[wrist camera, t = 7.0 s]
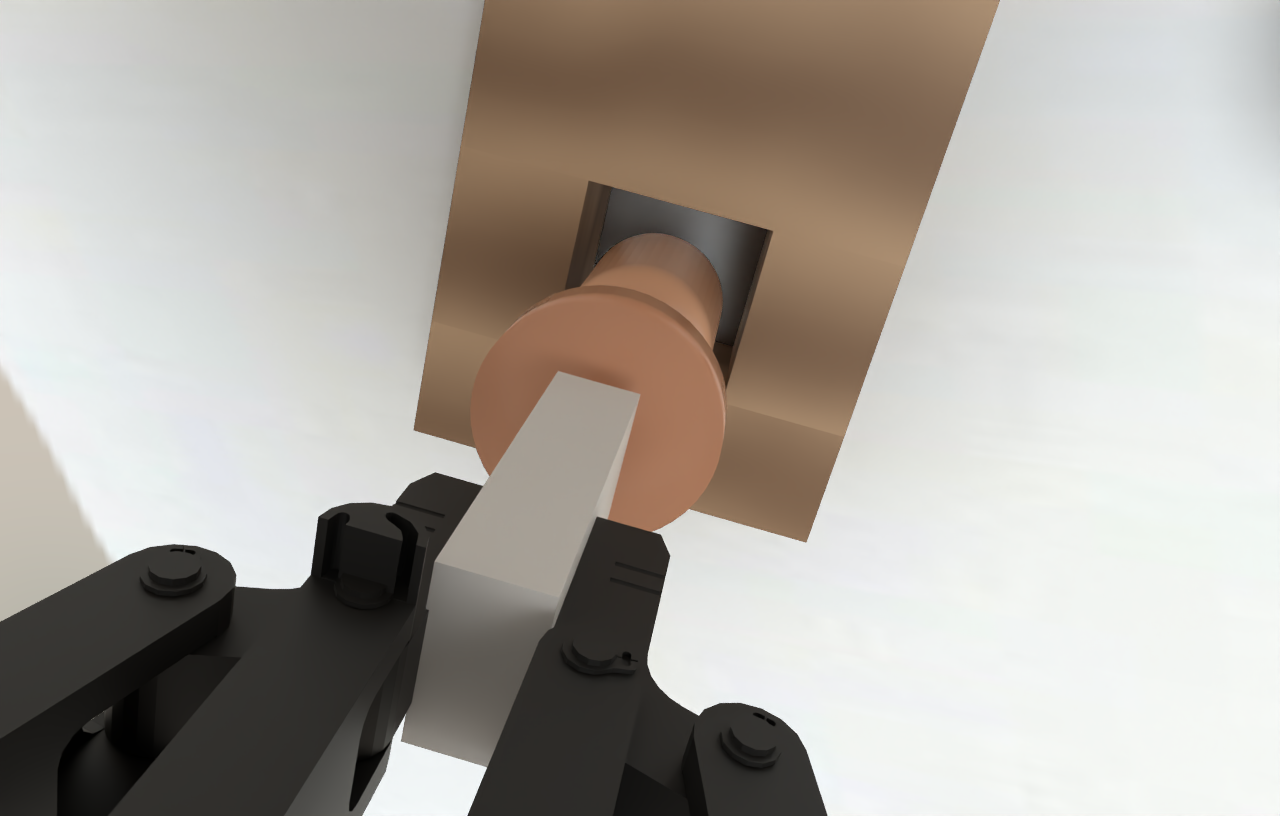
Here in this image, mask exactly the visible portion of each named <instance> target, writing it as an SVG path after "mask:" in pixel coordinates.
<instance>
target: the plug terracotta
mask: <svg viewBox="0 0 1280 816" xmlns="http://www.w3.org/2000/svg"><path fill="white" fill-rule="evenodd" d="M722 308H723V293H722V288H721V283H720V280H719V277H718V275H717V273H716V271H715V269H714V267H713V266H712V264H711V263H710V261H709V260H708V259H707V257H706V256H705V255H704V254H703V253H702V252H701V251H700V250H698V249H697V248H696V247H695V246H693V245H692V244H690V243H689V242H687V241H685V240H683V239H681V238H678V237H675V236H672V235H667V234H662V233H645V234H640V235H635V236H632V237H629V238H627V239H625V240H623V241H621V242H619V243H618V244H616V245H615V246H613V247H612V248H611V249H610V250H609V251H607V252H606V253H605V255H604V256H603V257H602V258H601V259H600V261H599V262H598V263H597V265H596V266H595V267H594V269H593V270H592V271H591V272H590V274H589V275H588V276H587V278H586V279H585V280H584V282H583V283H582V284H581V286H580V287H577V288H571V289H567V290H564V291H561V292H558V293H555V294H553V295H551V296H549V297H547V298H545V299H543V300H540V301H539V302H537V303H536V304H534V305H533V306H532V307H530V308H529V309H527V310H526V311H525V312H524V313H523V314H522V315H521V316H519V317H518V318H517V319H516V320H515V321H514V323H513V324H512V325H511V326H510V327H509V328H508V329H507V331H506V332H505V333H504V334H503V335H502V336H501V337H500V338H499V340H498V341H497V342H496V343H495V344H494V346H493V347H492V348H491V349H490V351H489V352H488V354H487V356H486V357H485V359H484V361H483V362H482V364H481V366H480V369H479V371H478V373H477V376H476V379H475V383H474V386H473V390H472V396H471V405H470V418H471V428H472V434H473V439H474V442H475V446H476V449H477V452H478V455H479V457H480V459H481V461H482V464H483V466H484V468H485V469H486V471H487V473H488V474H489V476H490V475H491V474H492V472H493V471H494V469H495V467H496V466H497V464H498V463H499V461H500V460H501V458H502V457H503V455H504V454H505V452H506V450H507V449H508V447H509V446H510V444H511V443H512V441H513V440H514V438H515V437H516V435H517V434H518V432H519V430H520V429H521V427H522V426H523V424H524V423H525V421H526V420H527V418H528V417H529V415H530V413H531V412H532V410H533V409H534V407H535V406H536V404H537V403H538V401H539V400H540V398H541V397H542V395H543V393H544V392H545V390H546V389H547V387H548V386H549V384H550V383H551V381H552V380H553V378H554V376H555V375H556V373H557V372H558V371H560V372H563V373H567V374H570V375H574V376H578V377H581V378H585V379H588V380H592V381H595V382H599V383H602V384H606V385H610V386H613V387H617V388H620V389H624V390H627V391H631V392H634V393H638V394H640V398H639V402H638V406H637V409H636V413H635V417H634V421H633V425H632V428H631V432H630V436H629V440H628V444H627V448H626V451H625V455H624V459H623V463H622V467H621V470H620V474H619V478H618V482H617V486H616V489H615V493H614V497H613V501H612V505H611V509H610V512H609V516H608V520H611V521H615V522H618V523H622V524H625V525H629V526H632V527H636V528H639V529H643V530H646V531H650V532H652V531H655V530H657V529H660V528H662V527H663V526H665V525H667V524H669V523H671V522H672V521H674V520H675V519H677V518H678V517H679V516H681V515H682V514H683V513H685V512H686V511H687V510H688V509H689V508H690V507H691V506H692V505H693V504H694V503H695V502H696V501H697V500H698V499H699V497H700V496H701V495H702V493H703V492H704V491H705V489H706V488H707V486H708V484H709V482H710V481H711V479H712V477H713V475H714V472H715V470H716V467H717V465H718V462H719V458H720V453H721V449H722V444H723V438H724V432H725V426H726V419H727V392H726V387H725V382H724V377H723V374H722V371H721V369H720V366H719V363H718V361H717V359H716V357H715V355H714V353H713V347H714V343H715V339H716V335H717V331H718V327H719V323H720V319H721V314H722Z"/></svg>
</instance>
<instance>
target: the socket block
mask: <svg viewBox="0 0 1280 816" xmlns="http://www.w3.org/2000/svg"><path fill="white" fill-rule="evenodd" d="M999 1H1000V0H485V3H484V9H483V15H482V21H481V27H480V33H479V39H478V45H477V51H476V57H475V63H474V69H473V75H472V81H471V87H470V93H469V99H468V105H467V111H466V117H465V123H464V129H463V135H462V141H461V147H460V154H459V160H458V166H457V172H456V178H455V184H454V190H453V196H452V202H451V208H450V214H449V220H448V226H447V232H446V238H445V244H444V250H443V256H442V262H441V268H440V274H439V280H438V286H437V292H436V298H435V304H434V310H433V316H432V322H431V328H430V334H429V340H428V346H427V352H426V358H425V364H424V370H423V376H422V382H421V388H420V394H419V400H418V406H417V413H416V419H415V425H414V430H415V431H418V432H422V433H425V434H429V435H432V436H436V437H439V438H443V439H446V440H450V441H453V442H457V443H460V444H464V445H467V446H471V447H474V448H476V446H475V442H474V439H473V434H472V428H471V418H470V405H471V396H472V390H473V386H474V383H475V379H476V376H477V373H478V371H479V369H480V366H481V364H482V362H483V361H484V359H485V357H486V356H487V354H488V352H489V351H490V349H491V348H492V347H493V346H494V344H495V343H496V342H497V341H498V340H499V338H500V337H501V336H502V335H503V334H504V333H505V332H506V331H507V329H508V328H509V327H510V326H511V325H512V324H513V323H514V321H515V320H516V319H517V318H518V317H519V316H521V315H522V314H523V313H524V312H525V311H526V310H527V309H529V308H530V307H532V306H533V305H534V304H536V303H537V302H539V301H540V300H543V299H545V298H547V297H549V296H551V295H553V294H555V293H558V292H561V291H564V290H567V289H571V288H577V287H580V286H581V284H582V283H583V282H584V280H585V279H586V278H587V276H588V275H589V274H590V272H591V271H592V270H593V268H594V263H595V259H596V255H597V250H598V246H599V242H600V237H601V233H602V229H603V224H604V220H605V215H606V211H607V207H608V202H609V198H610V194H611V189H612V187H614V188H618V189H622V190H625V191H629V192H633V193H636V194H640V195H644V196H647V197H651V198H655V199H658V200H662V201H666V202H669V203H673V204H676V205H680V206H684V207H687V208H691V209H695V210H698V211H702V212H706V213H709V214H713V215H717V216H720V217H724V218H728V219H731V220H735V221H739V222H742V223H746V224H750V225H753V226H757V227H761V228H764V229H768V230H767V233H766V237H765V240H764V243H763V247H762V250H761V253H760V257H759V260H758V264H757V267H756V270H755V274H754V277H753V280H752V284H751V287H750V291H749V294H748V297H747V301H746V304H745V308H744V311H743V314H742V318H741V321H740V324H739V328H738V331H737V335H736V338H735V341H734V345H733V346H729V345H726V344H722V343H719V342H715V343H714V347H713V353H714V355H715V357H716V359H717V361H718V363H719V366H720V369H721V371H722V374H723V377H724V382H725V387H726V392H727V419H726V426H725V432H724V438H723V444H722V449H721V453H720V458H719V462H718V465H717V467H716V470H715V472H714V475H713V477H712V479H711V481H710V482H709V484H708V486H707V488H706V489H705V491H704V492H703V493H702V495H701V496H700V497H699V499H698V500H697V501H696V502H695V503H694V504H693V505H692V506H691V507H690V508H689V509H691V510H694V511H698V512H701V513H705V514H708V515H712V516H715V517H719V518H722V519H726V520H729V521H733V522H736V523H740V524H743V525H747V526H750V527H754V528H757V529H761V530H764V531H768V532H771V533H775V534H778V535H782V536H785V537H789V538H792V539H796V540H799V541H803V542H807V539H808V536H809V534H810V531H811V528H812V525H813V522H814V520H815V517H816V514H817V511H818V508H819V506H820V503H821V500H822V497H823V494H824V492H825V489H826V486H827V483H828V480H829V478H830V475H831V472H832V469H833V466H834V464H835V461H836V458H837V455H838V452H839V450H840V447H841V444H842V441H843V438H844V436H845V433H846V430H847V427H848V424H849V422H850V419H851V416H852V413H853V410H854V408H855V405H856V402H857V399H858V396H859V394H860V391H861V388H862V385H863V382H864V380H865V377H866V374H867V371H868V368H869V366H870V363H871V360H872V357H873V354H874V352H875V349H876V346H877V343H878V340H879V338H880V335H881V332H882V329H883V326H884V324H885V321H886V318H887V315H888V312H889V310H890V307H891V304H892V301H893V298H894V296H895V293H896V290H897V287H898V284H899V282H900V279H901V276H902V273H903V270H904V268H905V265H906V262H907V259H908V256H909V254H910V251H911V248H912V245H913V242H914V240H915V237H916V234H917V231H918V228H919V226H920V223H921V220H922V217H923V214H924V212H925V209H926V206H927V203H928V200H929V198H930V195H931V192H932V189H933V186H934V184H935V181H936V178H937V175H938V172H939V170H940V167H941V164H942V161H943V158H944V156H945V153H946V150H947V147H948V144H949V142H950V139H951V136H952V133H953V130H954V128H955V125H956V122H957V119H958V116H959V114H960V111H961V108H962V105H963V102H964V100H965V97H966V94H967V91H968V88H969V86H970V83H971V80H972V77H973V74H974V72H975V69H976V66H977V63H978V60H979V58H980V55H981V52H982V49H983V46H984V44H985V41H986V38H987V35H988V32H989V29H990V27H991V24H992V21H993V18H994V15H995V13H996V10H997V7H998V4H999Z"/></svg>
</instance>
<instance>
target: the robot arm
mask: <svg viewBox="0 0 1280 816" xmlns="http://www.w3.org/2000/svg"><path fill="white" fill-rule="evenodd" d="M639 398H640V394H638V393H634V392H631V391H627V390H624V389H620V388H617V387H613V386H610V385H606V384H602V383H599V382H595V381H592V380H588V379H585V378H581V377H578V376H574V375H570V374H567V373H563V372H560V371H558V372H557V373H556V375H555V376H554V378H553V380H552V381H551V383H550V384H549V386H548V387H547V389H546V390H545V392H544V393H543V395H542V397H541V398H540V400H539V401H538V403H537V404H536V406H535V407H534V409H533V410H532V412H531V413H530V415H529V417H528V418H527V420H526V421H525V423H524V424H523V426H522V427H521V429H520V430H519V432H518V434H517V435H516V437H515V438H514V440H513V441H512V443H511V444H510V446H509V447H508V449H507V450H506V452H505V454H504V455H503V457H502V458H501V460H500V461H499V463H498V464H497V466H496V467H495V469H494V471H493V472H492V474H491V475H490V477H489V478H488V480H487V481H486V483H485V484H484V486H481V485H477V484H474V483H470V482H467V481H463V480H460V479H456V478H453V477H449V476H446V475H442V474H439V473H436V472H435V473H433V474H431V475H428V476H426V477H424V478H422V479H420V480H417V481H415V482H413V483H411V484H410V485H409V486H408V487H407V488H406V489H405V491H404V492H403V493H402V494H401V496H400V497H399V498H398V499H397V501H396V504H393V506H387V505H382V504H376V503H349V504H345V505H341V506H338V507H334V508H331V509H329V510H328V511H326V512H325V513H323V514H322V515H320V516H319V517H318V524H317V532H316V539H315V547H314V555H313V563H312V570H311V576H310V577H309V578H308V579H307V580H306V581H305V583H304V584H303V585H302V586H301V587H300V588H294V589H263V588H249V587H236V586H235V583H236V573H235V571H234V569H233V567H232V565H231V563H230V562H229V561H228V560H226V559H225V558H223V557H222V556H221V555H219V554H218V553H216V552H213V551H210V550H207V549H204V548H201V547H198V546H188V545H176V544H172V545H164V546H156V547H149V548H146V549H144V550H141V551H138V552H135V553H132V554H130V555H128V556H126V557H124V558H122V559H120V560H118V561H116V562H114V563H112V564H110V565H109V566H107V567H105V568H103V569H101V570H99V571H97V572H95V573H93V574H91V575H89V576H87V577H86V578H84V579H82V580H80V581H78V582H76V583H74V584H72V585H70V586H68V587H66V588H64V589H62V590H61V591H59V592H57V593H55V594H53V595H51V596H49V597H47V598H45V599H43V600H41V601H40V602H37V603H36V604H34V605H32V606H30V607H28V608H26V609H24V610H22V611H20V612H18V613H17V614H14V615H13V616H11V617H9V618H7V619H5V620H3V621H1V622H0V816H362V815H363V813H364V811H365V809H366V807H367V806H368V804H369V802H370V800H371V798H372V796H373V794H374V792H375V790H376V789H377V787H378V785H379V783H380V781H381V779H382V777H383V775H384V773H385V772H386V768H387V764H388V760H389V755H390V750H391V744H392V739H393V736H394V734H395V732H396V731H397V729H398V727H399V725H400V723H401V722H402V720H403V718H404V716H405V714H406V717H405V722H404V728H403V733H402V739H401V741H402V742H405V743H408V744H412V745H415V746H418V747H422V748H425V749H428V750H432V751H435V752H438V753H442V754H445V755H448V756H452V757H455V758H458V759H462V760H465V761H468V762H472V763H475V764H479V765H482V766H485V767H487V769H486V772H485V774H484V777H483V779H482V782H481V784H480V786H479V789H478V791H477V794H476V796H475V799H474V801H473V803H472V806H471V808H470V811H469V813H468V816H827V813H826V810H825V806H824V803H823V800H822V797H821V794H820V791H819V788H818V785H817V782H816V779H815V776H814V772H813V769H812V766H811V763H810V760H809V757H808V754H807V751H806V749H805V747H804V745H803V744H802V742H801V740H800V738H799V737H798V735H797V733H795V732H794V731H793V730H792V729H791V728H790V727H789V726H788V725H787V724H786V723H785V722H784V721H782V720H781V719H780V718H778V717H776V716H774V715H772V714H770V713H769V712H767V711H765V710H763V709H761V708H757V707H753V706H750V705H746V704H742V703H719V704H717V705H714V706H712V707H709V708H707V709H704V710H703V712H702V713H701V714H700V715H699V716H698V715H696V714H695V713H693V712H691V711H689V710H687V709H686V708H684V707H682V706H681V705H679V704H678V703H676V702H675V701H673V700H672V699H670V698H669V697H668V696H667V695H666V694H665V693H664V692H663V691H662V690H661V689H660V688H659V687H658V686H657V684H656V683H655V681H654V680H653V678H652V677H651V675H650V672H649V668H648V665H647V657H648V650H649V646H650V642H651V637H652V633H653V629H654V624H655V620H656V616H657V611H658V607H659V602H660V598H661V593H662V589H663V585H664V581H665V576H666V572H667V568H668V563H669V559H670V554H669V552H668V550H667V548H666V545H665V543H664V541H663V539H662V536H661V535H660V534H657V533H653V532H650V531H646V530H643V529H639V528H636V527H632V526H629V525H625V524H622V523H618V522H615V521H611V520H608V516H609V512H610V509H611V505H612V501H613V497H614V493H615V489H616V486H617V482H618V478H619V474H620V470H621V467H622V463H623V459H624V455H625V451H626V448H627V444H628V440H629V436H630V432H631V428H632V425H633V421H634V417H635V413H636V409H637V406H638V402H639Z"/></svg>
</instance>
